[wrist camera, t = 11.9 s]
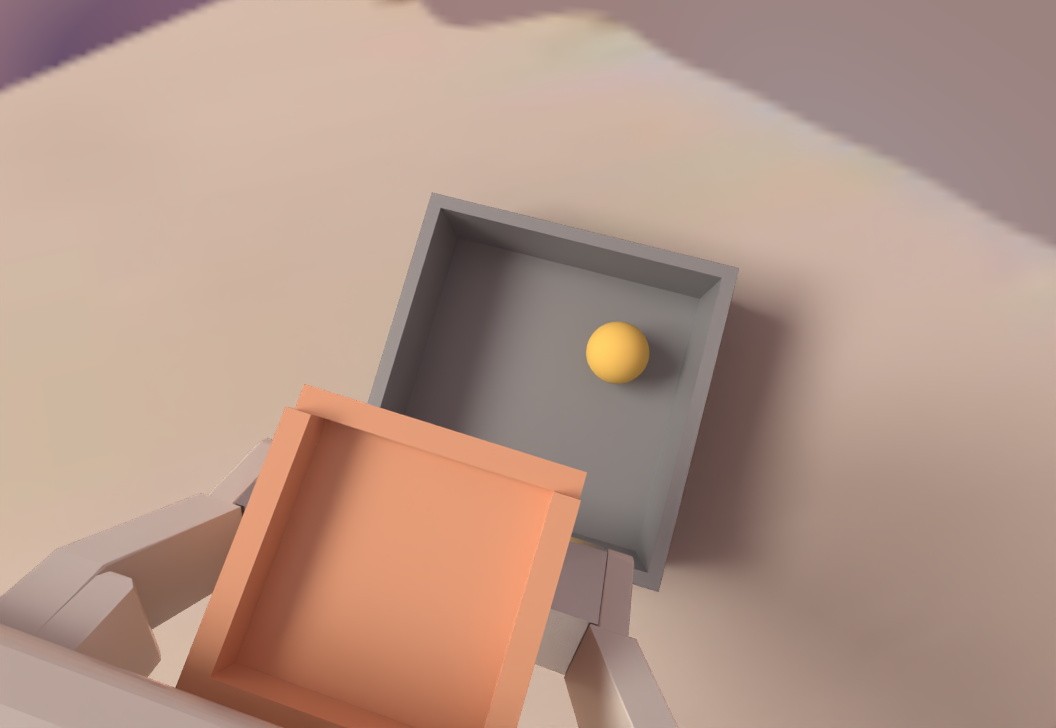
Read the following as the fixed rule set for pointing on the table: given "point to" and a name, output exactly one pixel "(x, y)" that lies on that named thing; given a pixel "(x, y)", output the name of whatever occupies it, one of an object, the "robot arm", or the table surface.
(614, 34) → the table surface
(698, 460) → the table surface
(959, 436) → the table surface
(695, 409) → the tray
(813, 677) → the table surface
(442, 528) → the square container
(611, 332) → the ball
